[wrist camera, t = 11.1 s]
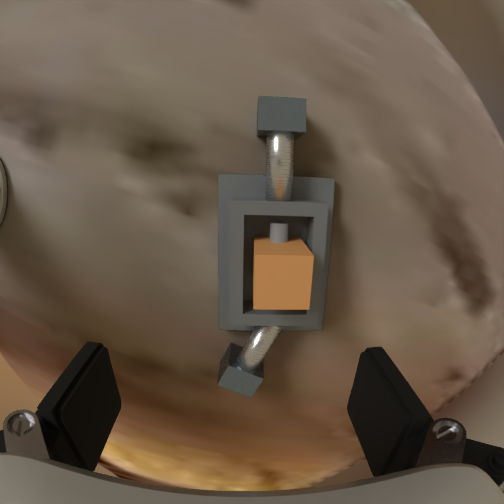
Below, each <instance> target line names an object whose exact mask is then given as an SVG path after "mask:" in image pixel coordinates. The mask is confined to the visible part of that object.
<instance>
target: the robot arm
mask: <svg viewBox="0 0 504 504" xmlns="http://www.w3.org/2000/svg"><path fill="white" fill-rule="evenodd" d="M6 203H7V182H6V176H5V171H4V168H3V165H2V162H1V160H0V225H1V223H2V220H3V217H4V214H5V209H6ZM37 409H38V410H37V411H36V413H33V412H32V411H29V410H17V411H14V412H12V413H10V414H9V415H8V416H7V417H6V418H5V420H4V423H3V430H1V431H0V504H504V448H501V447H497V446H492V445H489V444H485V443H481V442H477V441H474V440H471V439H467V438H466V430H465V428H464V426H463V425H462V424H461V423H460V422H458V421H457V420H454V419H452V418H439V419H436V420H433V419H432V417H431V415H430V414H429V412H428V411H427V409H426V408H425V406H424V405H423V403H422V402H421V401H420V399H419V398H418V396H417V395H416V393H415V392H414V391H413V389H412V388H411V386H410V385H409V384H408V382H407V381H406V379H405V378H404V377H403V375H402V374H401V372H400V371H399V370H398V368H397V367H396V365H395V364H394V363H393V361H392V360H391V359H390V357H389V356H388V355H387V353H386V352H385V350H384V349H383V348H382V347H371V348H366V350H365V352H362V353H361V355H360V359H359V363H358V367H357V371H356V375H355V379H354V383H353V387H352V390H351V394H350V397H349V401H348V405H347V411H348V414H349V417H350V419H351V422H352V424H353V427H354V429H355V431H356V434H357V436H358V439H359V441H360V444H361V446H362V449H363V451H364V454H365V456H366V459H367V461H368V464H369V467H370V469H371V472H372V474H373V476H374V477H373V478H368V479H363V480H357V481H352V482H346V483H340V484H334V485H327V486H320V487H312V488H302V489H290V490H274V491H214V490H199V489H187V488H178V487H169V486H162V485H155V484H149V483H143V482H137V481H132V480H127V479H122V478H118V477H113V476H109V475H105V474H101V473H96V472H93V471H94V470H95V468H96V466H97V463H98V461H99V458H100V456H101V454H102V451H103V449H104V446H105V444H106V442H107V439H108V437H109V435H110V432H111V430H112V428H113V425H114V423H115V421H116V418H117V416H118V414H119V412H120V409H121V398H120V395H119V392H118V388H117V384H116V381H115V377H114V373H113V369H112V365H111V361H110V357H109V353H108V350H107V348H105V347H104V346H103V344H101V343H95V342H87V343H86V344H85V345H84V346H83V348H82V349H81V350H80V351H79V353H78V354H77V355H76V356H75V358H74V359H73V360H72V361H71V363H70V364H69V365H68V367H67V368H66V369H65V370H64V372H63V373H62V374H61V376H60V377H59V378H58V380H57V381H56V382H55V384H54V385H53V386H52V388H51V389H50V390H49V392H48V393H47V394H46V396H45V397H44V398H43V400H42V401H41V403H40V404H39V406H38V407H37Z"/></svg>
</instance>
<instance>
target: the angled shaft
mask: <svg viewBox="0 0 504 504" xmlns="http://www.w3.org/2000/svg"><path fill="white" fill-rule="evenodd" d="M282 328H283V326H256V327H255V328H254V330H253V332H252V334H251V335H250V337H249V339H248V341H247V342H246V344H245V346H244V347H243V348H242V347H240V346H237V345H235V344H233V343H231V344H230V346H229V347H228V349H227V351H226V353H225V355H224V356H223V358H222V360H221V362H220V369H219V375H218V382H217V385H218V386H221V387H223V388H226V389H229V390H231V391H234V392H237V393H240V394H242V395H245V396H248V397H252V396H253V394H254V393H255V391H256V390H257V388H258V387H259V385H260V384H261V383H262V381H263V380H264V371H263V359H264V357H265V356H266V354H267V352H268V351H269V349H270V348H271V346H272V344H273V343H274V341H275V340H276V338H277V336H278V335H279V333H280V331H281V330H282Z"/></svg>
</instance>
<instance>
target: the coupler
mask: <svg viewBox="0 0 504 504" xmlns="http://www.w3.org/2000/svg"><path fill="white" fill-rule="evenodd" d="M313 261H314V255H313V254H312V253H311V251H310V250H309V249H308V247H307V246H306V245H305V243H304V242H303V241H302V239H301V238H300V237H288V223H286V222H271V223H270V236H254V254H253V309H262V310H309V307H310V296H311V285H312V274H313Z"/></svg>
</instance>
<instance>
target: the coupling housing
mask: <svg viewBox="0 0 504 504" xmlns="http://www.w3.org/2000/svg"><path fill="white" fill-rule="evenodd" d="M334 182H335V179H333V178H318V177H301V176H293V198H292V201H289V202H280V201H267V200H265V186H266V175H239V174H219V186H218V275H219V327H220V330H254V328H255V327H256V326H283V328H282V330H281V331H306V330H322V323H323V315H324V306H325V298H326V289H327V279H328V269H329V259H330V247H331V234H332V220H333V203H334ZM271 222H286V223H288V237H300V238H301V239H302V241H303V242H304V243H305V245H306V246H307V247H308V249H309V250H310V251H311V253H312V254H313V255H314V261H313V274H312V285H311V296H310V307H309V310H262V309H253V254H254V236H270V223H271Z"/></svg>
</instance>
